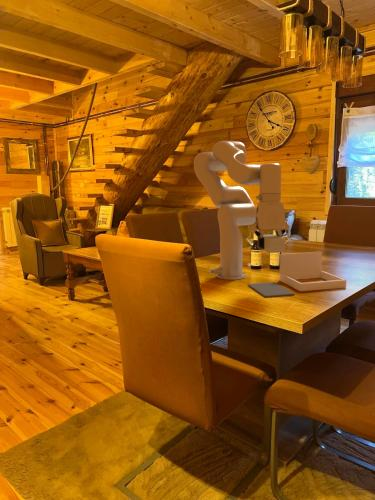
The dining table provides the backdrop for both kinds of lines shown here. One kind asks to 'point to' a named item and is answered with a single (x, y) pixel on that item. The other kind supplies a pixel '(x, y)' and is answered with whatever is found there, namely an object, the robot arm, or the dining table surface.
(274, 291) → the slate mat
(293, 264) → the carton
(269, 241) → the box
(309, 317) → the dining table surface
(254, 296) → the dining table surface
